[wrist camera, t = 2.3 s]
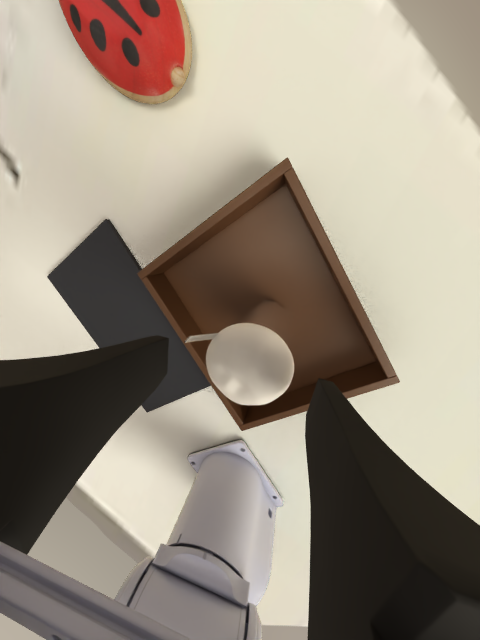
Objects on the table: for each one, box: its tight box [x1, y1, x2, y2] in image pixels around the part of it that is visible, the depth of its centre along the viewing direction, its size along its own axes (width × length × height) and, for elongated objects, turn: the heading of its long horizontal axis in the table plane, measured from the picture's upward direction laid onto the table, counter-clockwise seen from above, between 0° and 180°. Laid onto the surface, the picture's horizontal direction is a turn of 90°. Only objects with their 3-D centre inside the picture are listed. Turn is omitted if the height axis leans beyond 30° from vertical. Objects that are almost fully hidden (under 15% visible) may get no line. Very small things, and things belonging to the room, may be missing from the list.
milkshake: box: [185, 300, 294, 405], centre depth 14 cm, size 5×5×10 cm
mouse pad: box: [47, 219, 211, 412], centre depth 23 cm, size 18×10×1 cm, turn 32°
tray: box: [137, 158, 400, 431], centre depth 18 cm, size 16×13×3 cm
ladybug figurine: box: [59, 0, 192, 104], centre depth 14 cm, size 7×10×4 cm
